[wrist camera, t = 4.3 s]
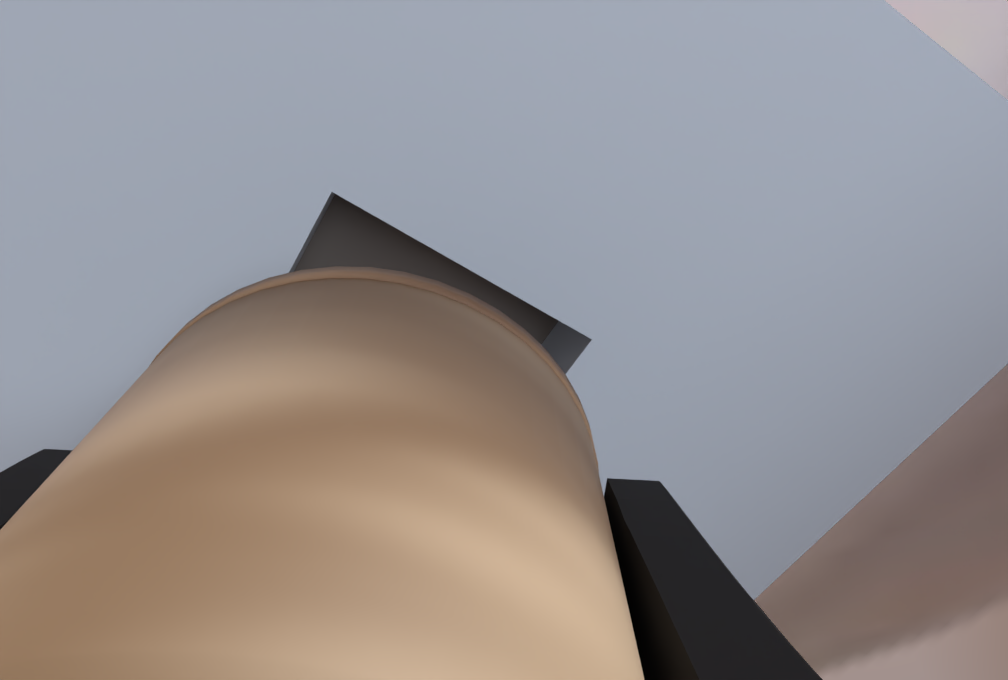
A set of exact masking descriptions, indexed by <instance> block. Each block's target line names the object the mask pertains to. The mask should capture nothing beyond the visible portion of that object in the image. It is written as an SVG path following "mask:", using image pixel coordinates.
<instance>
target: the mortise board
mask: <svg viewBox="0 0 1008 680" xmlns="http://www.w3.org/2000/svg"><path fill="white" fill-rule="evenodd" d="M333 266H349V267H374V268H381V269H389V270H396V271H403V272H407V273H411V274H415V275H418V276H422V277H426V278H430V279H433V280H437V281H440V282H442V283H445V284H447V285H450V286H452V287H455V288H457V289H460V290H462V291H465V292H467V293H470V294H471V295H473V296H475V297H477V298H479V299H480V300H482V301H484V302H486V303H488V304H489V305H491V306H493V307H495V308H496V309H498V310H500V311H501V312H502V313H504V314H505V315H507V316H508V317H509V318H511V319H512V320H513V321H515V322H516V323H517V324H519V325H520V326H521V327H523V328H524V329H525V330H526V331H527V332H528V333H529V334H530V335H531V336H533V337H534V338H535V339H536V340H537V341H538V342H539V343H540V344H541V345H542V346H543V347H544V348H545V349H546V350H547V351H548V352H549V354H550V355H551V356H552V358H553V359H554V360H555V361H556V363H557V364H558V365H559V366H560V368H561V369H562V370H563V372H564V373H565V374H566V376H567V378H568V380H569V381H570V383H571V385H572V386H573V388H574V390H575V392H576V393H577V395H578V397H579V399H580V401H581V404H582V406H583V409H584V412H585V414H586V417H587V419H588V422H589V425H590V429H591V434H592V438H593V443H594V447H595V452H596V456H597V460H598V469H599V477H600V482H601V486H602V491H603V495H604V493H605V488H606V482H607V478H612V479H631V480H651V481H660V482H661V483H662V484H663V486H664V487H665V488H666V489H667V490H668V492H669V493H670V494H671V496H672V497H673V498H674V499H675V501H676V502H677V503H678V505H679V506H680V507H681V509H682V510H683V511H684V513H685V514H686V515H687V516H688V518H689V519H690V520H691V522H692V523H693V524H694V526H695V527H696V528H697V530H698V531H699V532H700V533H701V535H702V536H703V537H704V539H705V540H706V541H707V543H708V544H709V545H710V546H711V548H712V549H713V550H714V552H715V553H716V554H717V555H718V557H719V558H720V559H721V560H722V562H723V563H724V564H725V566H726V567H727V568H728V569H729V571H730V572H731V573H732V574H733V576H734V577H735V578H736V579H737V581H738V582H739V583H740V584H741V586H742V587H743V588H744V589H745V590H746V592H747V593H748V594H749V595H750V596H751V598H752V599H753V600H755V599H756V598H757V597H758V596H759V595H760V594H761V593H762V592H763V591H764V590H765V589H766V588H767V587H769V586H770V585H771V584H772V583H773V582H774V581H775V580H776V579H777V578H778V577H779V576H780V575H781V574H782V573H784V572H785V571H786V570H787V569H788V568H789V567H790V566H791V565H792V564H793V563H794V562H795V561H796V560H798V559H799V558H800V557H801V556H802V555H803V554H804V553H805V552H806V551H807V550H808V549H809V548H810V547H811V546H813V545H814V544H815V543H816V542H817V541H818V540H819V539H820V538H821V537H822V536H823V535H824V534H825V533H826V532H828V531H829V530H830V529H831V528H832V527H833V526H834V525H835V524H836V523H837V522H838V521H839V520H840V519H842V518H843V517H844V516H845V515H846V514H847V513H848V512H849V511H850V510H851V509H852V508H853V507H854V506H855V505H857V504H858V503H859V502H860V501H861V500H862V499H863V498H864V497H865V496H866V495H867V494H868V493H869V492H870V491H872V490H873V489H874V488H875V487H876V486H877V485H878V484H879V483H880V482H881V481H882V480H883V479H884V478H886V477H887V476H888V475H889V474H890V473H891V472H892V471H893V470H894V469H895V468H896V467H897V466H898V465H899V464H901V463H902V462H903V461H904V460H905V459H906V458H907V457H908V456H909V455H910V454H911V453H912V452H913V451H914V450H916V449H917V448H918V447H919V446H920V445H921V444H922V443H923V442H924V441H925V440H926V439H927V438H928V437H930V436H931V435H932V434H933V433H934V432H935V431H936V430H937V429H938V428H939V427H940V426H941V425H942V424H943V423H945V422H946V421H947V420H948V419H949V418H950V417H951V416H952V415H953V414H954V413H955V412H956V411H957V410H958V409H960V408H961V407H962V406H963V405H964V404H965V403H966V402H967V401H968V400H969V399H970V398H971V397H972V396H973V395H975V394H976V393H977V392H978V391H979V390H980V389H981V388H982V387H983V386H984V385H985V384H986V383H987V382H989V381H990V380H991V379H992V378H993V377H994V376H995V375H996V374H997V373H998V372H999V371H1000V370H1001V369H1002V368H1004V367H1005V366H1006V365H1007V364H1008V100H1007V99H1005V98H1004V97H1003V96H1002V95H1001V94H999V93H998V92H997V91H996V90H994V89H993V88H992V87H991V86H989V85H988V84H987V83H986V82H984V81H983V80H982V79H981V78H979V77H978V76H977V75H976V74H975V73H973V72H972V71H971V70H970V69H968V68H967V67H966V66H965V65H963V64H962V63H961V62H960V61H958V60H957V59H956V58H955V57H953V56H952V55H951V54H950V53H949V52H947V51H946V50H945V49H944V48H942V47H941V46H940V45H939V44H937V43H936V42H935V41H934V40H932V39H931V38H930V37H929V36H927V35H926V34H925V33H924V32H923V31H921V30H920V29H919V28H918V27H916V26H915V25H914V24H913V23H911V22H910V21H909V20H908V19H906V18H905V17H904V16H903V15H901V14H900V13H899V12H898V11H897V10H895V9H894V8H893V7H892V6H890V5H889V4H888V3H887V2H885V1H884V0H0V472H2V471H4V470H5V469H7V468H9V467H11V466H12V465H14V464H16V463H18V462H20V461H21V460H23V459H25V458H27V457H29V456H31V455H33V454H35V453H37V452H39V451H41V450H43V449H57V450H73V449H74V448H75V447H76V446H77V445H78V444H79V443H80V442H81V441H82V440H83V438H84V437H85V436H86V435H87V434H88V433H89V432H90V431H91V430H92V429H93V428H94V426H95V425H96V424H97V423H98V422H99V421H100V420H101V419H102V418H103V417H104V415H105V414H106V413H107V412H108V411H109V410H110V409H111V408H112V407H113V406H114V404H115V403H116V402H117V401H118V400H119V399H120V398H121V397H122V396H123V395H124V393H125V392H126V391H127V390H128V389H129V388H130V387H131V386H132V385H133V384H134V382H135V381H136V380H137V379H138V378H139V377H140V376H141V375H142V374H143V373H144V371H145V370H146V369H147V368H148V367H149V365H150V364H151V363H152V361H153V360H154V358H155V357H156V355H157V354H158V353H159V352H160V351H161V350H162V349H163V348H164V347H165V346H166V345H167V343H168V342H169V341H170V340H171V339H172V338H173V337H174V336H175V335H176V334H177V333H178V332H179V331H180V330H181V329H182V328H183V327H184V326H185V325H186V324H187V323H188V322H189V321H190V320H192V319H193V318H194V317H195V316H197V315H198V314H199V313H201V312H202V311H203V310H205V309H206V308H207V307H209V306H210V305H211V304H213V303H215V302H217V301H218V300H220V299H222V298H224V297H226V296H227V295H229V294H231V293H233V292H235V291H236V290H238V289H241V288H243V287H246V286H248V285H251V284H254V283H256V282H259V281H261V280H264V279H267V278H269V277H274V276H278V275H282V274H286V273H290V272H295V271H299V270H305V269H314V268H324V267H333Z"/></svg>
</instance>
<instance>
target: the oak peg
mask: <svg viewBox="0 0 1008 680" xmlns="http://www.w3.org/2000/svg"><path fill="white" fill-rule="evenodd" d="M0 680H644V675H643V671H642V666H641V662H640V657H639V653H638V648H637V644H636V639H635V635H634V630H633V626H632V621H631V617H630V612H629V608H628V603H627V599H626V594H625V590H624V585H623V581H622V576H621V572H620V567H619V563H618V558H617V554H616V549H615V545H614V540H613V536H612V531H611V527H610V522H609V518H608V513H607V509H606V504H605V500H604V495H603V491H602V486H601V482H600V477H599V469H598V460H597V456H596V452H595V447H594V443H593V438H592V434H591V429H590V425H589V422H588V419H587V417H586V414H585V412H584V409H583V406H582V404H581V401H580V399H579V397H578V395H577V393H576V392H575V390H574V388H573V386H572V385H571V383H570V381H569V380H568V378H567V376H566V374H565V373H564V372H563V370H562V369H561V368H560V366H559V365H558V364H557V363H556V361H555V360H554V359H553V358H552V356H551V355H550V354H549V352H548V351H547V350H546V349H545V348H544V347H543V346H542V345H541V344H540V343H539V342H538V341H537V340H536V339H535V338H534V337H533V336H531V335H530V334H529V333H528V332H527V331H526V330H525V329H524V328H523V327H521V326H520V325H519V324H517V323H516V322H515V321H513V320H512V319H511V318H509V317H508V316H507V315H505V314H504V313H502V312H501V311H500V310H498V309H496V308H495V307H493V306H491V305H489V304H488V303H486V302H484V301H482V300H480V299H479V298H477V297H475V296H473V295H471V294H470V293H467V292H465V291H462V290H460V289H457V288H455V287H452V286H450V285H447V284H445V283H442V282H440V281H437V280H433V279H430V278H426V277H422V276H418V275H415V274H411V273H407V272H403V271H396V270H389V269H381V268H374V267H349V266H333V267H324V268H314V269H305V270H299V271H295V272H290V273H286V274H282V275H278V276H274V277H269V278H267V279H264V280H261V281H259V282H256V283H254V284H251V285H248V286H246V287H243V288H241V289H238V290H236V291H235V292H233V293H231V294H229V295H227V296H226V297H224V298H222V299H220V300H218V301H217V302H215V303H213V304H211V305H210V306H209V307H207V308H206V309H205V310H203V311H202V312H201V313H199V314H198V315H197V316H195V317H194V318H193V319H192V320H190V321H189V322H188V323H187V324H186V325H185V326H184V327H183V328H182V329H181V330H180V331H179V332H178V333H177V334H176V335H175V336H174V337H173V338H172V339H171V340H170V341H169V342H168V343H167V345H166V346H165V347H164V348H163V349H162V350H161V351H160V352H159V353H158V354H157V355H156V357H155V358H154V360H153V361H152V363H151V364H150V365H149V367H148V368H147V369H146V370H145V371H144V373H143V374H142V375H141V376H140V377H139V378H138V379H137V380H136V381H135V382H134V384H133V385H132V386H131V387H130V388H129V389H128V390H127V391H126V392H125V393H124V395H123V396H122V397H121V398H120V399H119V400H118V401H117V402H116V403H115V404H114V406H113V407H112V408H111V409H110V410H109V411H108V412H107V413H106V414H105V415H104V417H103V418H102V419H101V420H100V421H99V422H98V423H97V424H96V425H95V426H94V428H93V429H92V430H91V431H90V432H89V433H88V434H87V435H86V436H85V437H84V438H83V440H82V441H81V442H80V443H79V444H78V445H77V446H76V447H75V448H74V449H73V451H72V452H71V453H70V454H69V455H68V456H67V457H66V458H65V459H64V460H63V462H62V463H61V464H60V465H59V466H58V467H57V468H56V469H55V470H54V471H53V473H52V474H51V475H50V476H49V477H48V478H47V479H46V480H45V481H44V482H43V484H42V485H41V486H40V487H39V488H38V489H37V490H36V491H35V492H34V493H33V494H32V496H31V497H30V498H29V499H28V500H27V501H26V502H25V503H24V504H23V505H22V507H21V508H20V509H19V510H18V511H17V512H16V513H15V514H14V515H13V516H12V518H11V519H10V520H9V521H8V522H7V523H6V524H5V525H4V526H3V527H2V529H1V530H0Z"/></svg>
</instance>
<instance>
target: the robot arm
mask: <svg viewBox="0 0 1008 680" xmlns="http://www.w3.org/2000/svg"><path fill="white" fill-rule="evenodd" d="M72 451H73V450H57V449H43V450H41V451H39V452H37V453H35V454H33V455H31V456H29V457H27V458H25V459H23V460H21V461H20V462H18V463H16V464H14V465H12V466H11V467H9V468H7V469H5V470H4V471H2V472H0V530H1V529H2V527H3V526H4V525H5V524H6V523H7V522H8V521H9V520H10V519H11V518H12V516H13V515H14V514H15V513H16V512H17V511H18V510H19V509H20V508H21V507H22V505H23V504H24V503H25V502H26V501H27V500H28V499H29V498H30V497H31V496H32V494H33V493H34V492H35V491H36V490H37V489H38V488H39V487H40V486H41V485H42V484H43V482H44V481H45V480H46V479H47V478H48V477H49V476H50V475H51V474H52V473H53V471H54V470H55V469H56V468H57V467H58V466H59V465H60V464H61V463H62V462H63V460H64V459H65V458H66V457H67V456H68V455H69V454H70V453H71V452H72ZM604 500H605V504H606V509H607V513H608V518H609V522H610V527H611V531H612V536H613V540H614V545H615V549H616V554H617V558H618V563H619V567H620V572H621V576H622V581H623V585H624V590H625V594H626V599H627V603H628V608H629V612H630V617H631V621H632V626H633V630H634V635H635V639H636V644H637V648H638V653H639V657H640V662H641V666H642V671H643V675H644V680H822V679H821V678H820V677H819V675H818V674H817V673H816V672H815V671H814V670H813V669H812V668H811V667H810V665H809V664H808V663H807V662H806V661H805V660H804V659H803V658H802V656H801V655H800V654H799V653H798V652H797V651H796V650H795V648H794V647H793V646H792V645H791V644H790V643H789V642H788V640H787V639H786V638H785V637H784V636H783V635H782V633H781V632H780V631H779V630H778V629H777V627H776V626H775V625H774V624H773V623H772V621H771V620H770V619H769V618H768V617H767V616H766V614H765V613H764V612H763V611H762V610H761V608H760V607H759V606H758V605H757V604H756V602H755V601H754V600H753V599H752V598H751V596H750V595H749V594H748V593H747V592H746V590H745V589H744V588H743V587H742V586H741V584H740V583H739V582H738V581H737V579H736V578H735V577H734V576H733V574H732V573H731V572H730V571H729V569H728V568H727V567H726V566H725V564H724V563H723V562H722V560H721V559H720V558H719V557H718V555H717V554H716V553H715V552H714V550H713V549H712V548H711V546H710V545H709V544H708V543H707V541H706V540H705V539H704V537H703V536H702V535H701V533H700V532H699V531H698V530H697V528H696V527H695V526H694V524H693V523H692V522H691V520H690V519H689V518H688V516H687V515H686V514H685V513H684V511H683V510H682V509H681V507H680V506H679V505H678V503H677V502H676V501H675V499H674V498H673V497H672V496H671V494H670V493H669V492H668V490H667V489H666V488H665V487H664V486H663V484H662V483H661V482H660V481H651V480H631V479H612V478H607V482H606V488H605V493H604Z"/></svg>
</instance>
